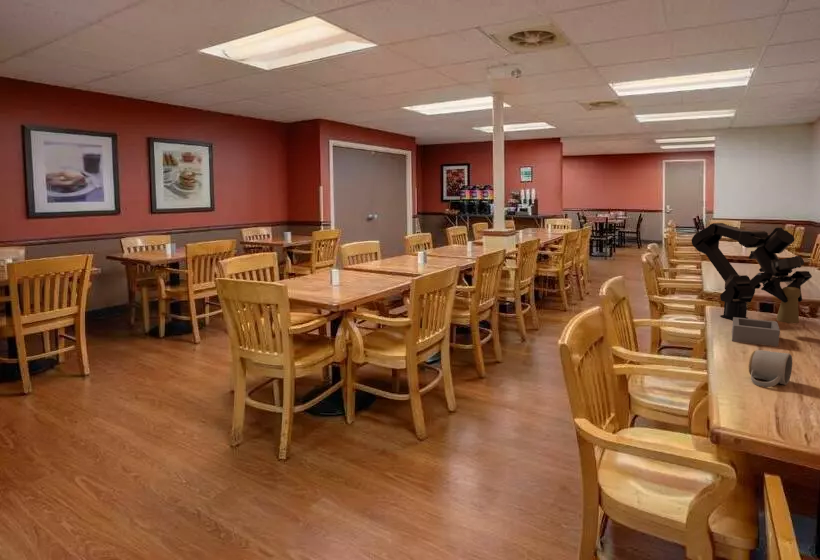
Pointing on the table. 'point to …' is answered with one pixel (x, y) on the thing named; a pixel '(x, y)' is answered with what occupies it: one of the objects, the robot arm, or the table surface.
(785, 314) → the cork
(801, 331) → the table surface
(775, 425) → the table surface
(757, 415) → the table surface
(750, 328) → the holder block
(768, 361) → the ceramic mug
